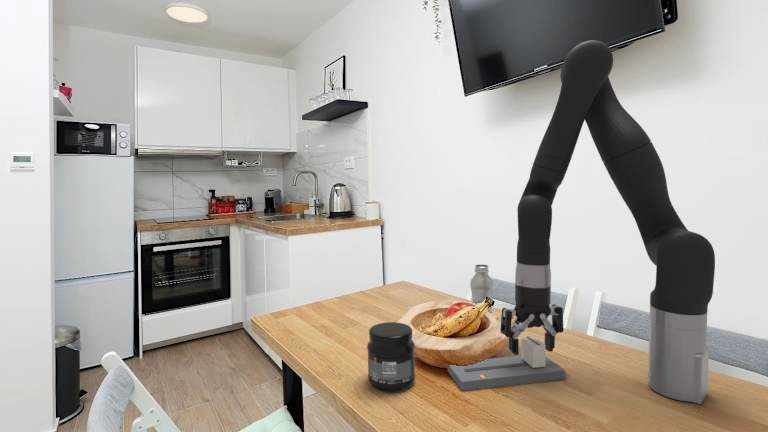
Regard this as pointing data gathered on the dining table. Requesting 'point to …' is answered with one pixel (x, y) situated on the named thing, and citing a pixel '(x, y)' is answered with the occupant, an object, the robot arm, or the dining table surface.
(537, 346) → the block
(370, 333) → the supplement container
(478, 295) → the plastic bottle
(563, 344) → the dining table surface
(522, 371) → the slider board
